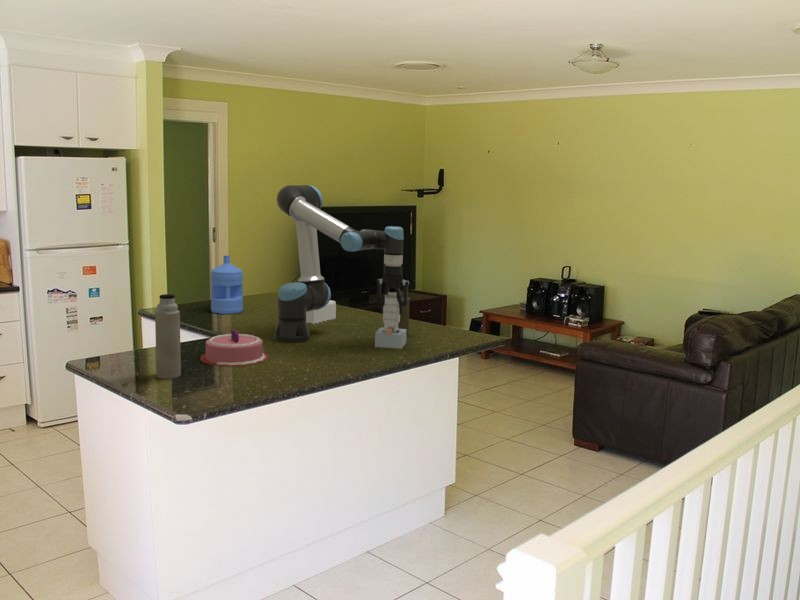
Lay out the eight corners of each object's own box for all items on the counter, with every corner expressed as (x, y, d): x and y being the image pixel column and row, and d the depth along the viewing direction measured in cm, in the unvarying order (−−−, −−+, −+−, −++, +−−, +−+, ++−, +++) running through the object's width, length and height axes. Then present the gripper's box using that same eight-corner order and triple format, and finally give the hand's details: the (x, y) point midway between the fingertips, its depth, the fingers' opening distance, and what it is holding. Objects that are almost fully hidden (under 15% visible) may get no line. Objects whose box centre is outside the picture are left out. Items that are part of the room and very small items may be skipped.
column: (383, 341, 298) (384, 294, 295) (386, 337, 305) (387, 292, 301) (395, 342, 297) (396, 295, 294) (398, 338, 304) (399, 292, 301)
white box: (313, 324, 342) (313, 291, 339) (283, 319, 351) (283, 287, 348) (335, 319, 357) (336, 286, 354) (306, 314, 366) (307, 283, 363)
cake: (277, 363, 272) (277, 335, 270) (210, 369, 260) (209, 340, 258) (256, 348, 294) (256, 322, 292) (193, 354, 282) (192, 326, 280)
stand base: (371, 349, 296) (372, 328, 295) (378, 342, 309) (379, 322, 307) (403, 351, 294) (404, 331, 293) (408, 344, 307) (409, 324, 305)
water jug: (210, 309, 371) (209, 254, 366) (241, 308, 375) (241, 254, 371) (211, 315, 356) (211, 257, 351) (244, 314, 361) (244, 257, 356)
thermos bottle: (160, 372, 254) (158, 292, 249) (183, 372, 254) (182, 293, 250) (153, 378, 246) (151, 296, 241) (177, 379, 247) (175, 297, 242)
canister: (406, 340, 315) (407, 294, 311) (382, 338, 317) (383, 293, 313) (411, 335, 325) (412, 290, 322) (388, 333, 327) (389, 289, 324)
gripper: (369, 264, 293) (367, 321, 297) (413, 267, 290) (411, 324, 294) (373, 262, 301) (371, 318, 305) (416, 265, 298) (414, 321, 302)
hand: (391, 321), depth 300 cm, fingers closed on column, 5 cm apart
